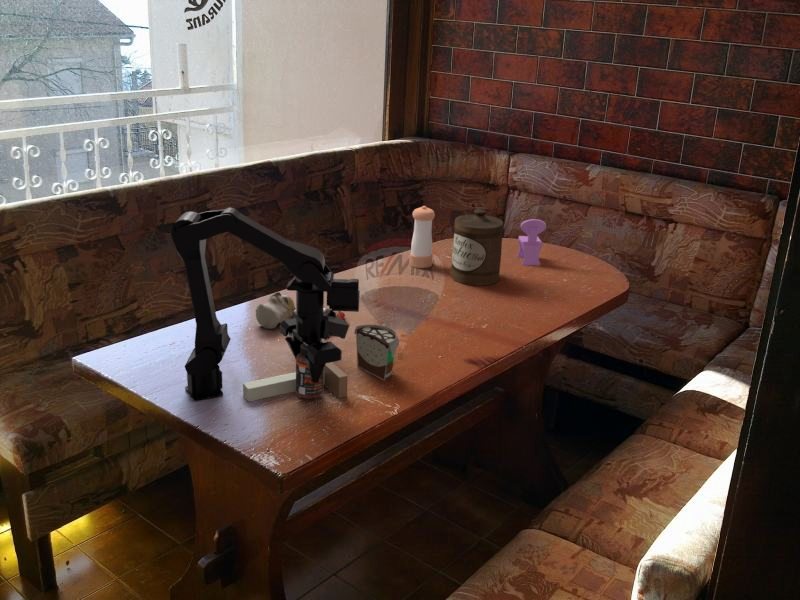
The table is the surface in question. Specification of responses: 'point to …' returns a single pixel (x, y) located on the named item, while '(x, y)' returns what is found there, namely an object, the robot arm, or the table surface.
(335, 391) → the wall board
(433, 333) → the table surface
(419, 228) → the pepper shaker
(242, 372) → the table surface
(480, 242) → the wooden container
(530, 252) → the toy chair
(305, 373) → the supplement bottle
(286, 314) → the ceramic sculpture
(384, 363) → the food container
